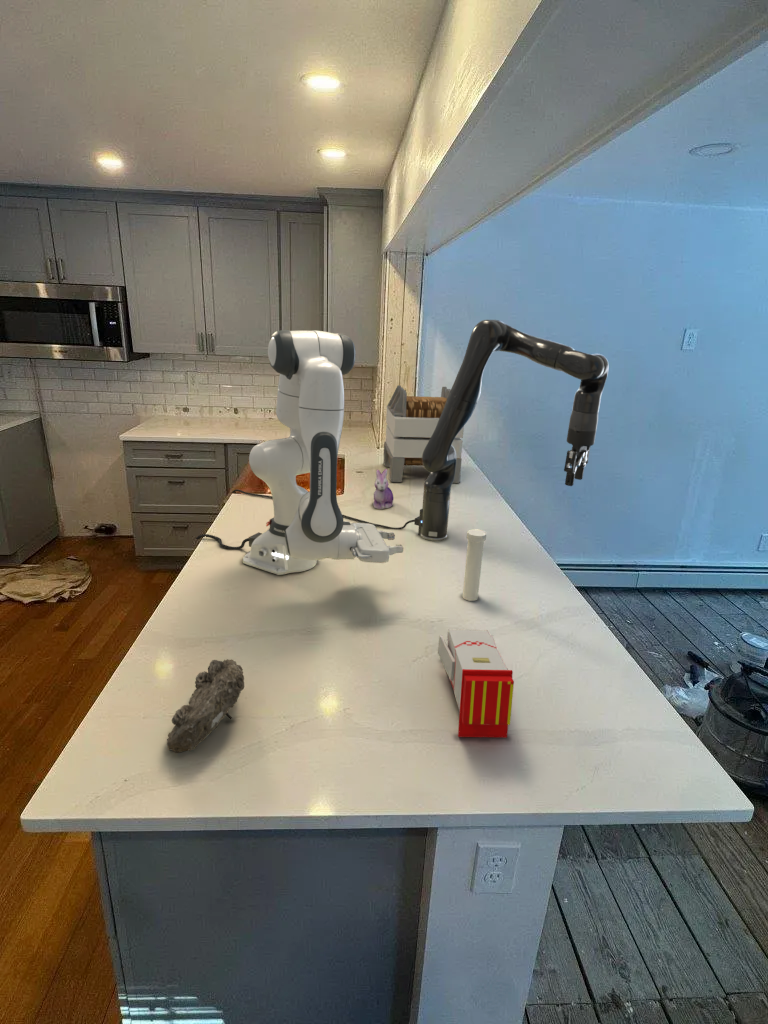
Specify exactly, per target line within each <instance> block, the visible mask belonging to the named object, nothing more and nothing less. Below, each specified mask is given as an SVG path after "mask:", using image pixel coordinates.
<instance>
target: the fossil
mask: <svg viewBox="0 0 768 1024" xmlns="http://www.w3.org/2000/svg"><path fill="white" fill-rule="evenodd" d="M243 670H244V669H243V667H242V665H240V664H237V662H236V661H235V660H234V659H232V658H231V659H227V658H226V659H224V660H223V661H222V660H217V659H212V660H211V661H210V663H209V665H208V666H207V671H201V672H199V673H198V674H197V675H196V676H195V680H194V684H195V685H194V687H195V689H194V690H193V693H192V694H191V697H190V698H189V700H188V704H184V705H182V706H181V707H180V709H177V710H176V711H175V713H174V715H173V716H172V718H171V723H172V724H173V727H172V730H171V731H170V732H168V734H167V738H166V741H167V742H166V745H167V749H168V750H169V751H173V752H174V753H176V754H178V753H182V752H188V751H189V752H192V751H193V750H195V748H196V747H197V746H199V744H200V743H201V742H203V741H204V740H205V739H206V738H207V737H208V736H209V735H210V734H211V733H212V732H214V730H215V729H217V727H218V726H219V724H220V722H221V721H222V720H223V719H224V718H225V716H226V717H227V719H229V720H233V717H232V715H230V714H229V710H230V709H231V708H234V706H235V704H236V703H237V702H238V699H239V697H240V695H241V693H242V691H243V690H245V689H244V688H245V675H244V671H243Z"/></svg>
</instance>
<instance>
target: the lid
mask: <svg viewBox="0 0 768 1024" xmlns="http://www.w3.org/2000/svg"><path fill="white" fill-rule="evenodd" d="M466 539H467V541H468V540H469V541H472V542H484V543H485V541H486V540H487V531H485V530H483V529H478V528H472V529H468V530H467V532H466Z"/></svg>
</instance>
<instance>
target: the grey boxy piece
mask: <svg viewBox="0 0 768 1024" xmlns="http://www.w3.org/2000/svg"><path fill="white" fill-rule="evenodd" d="M450 391H451V388H447V386H442V387H441V392H440V393H441V394H440V396H415V395H414V396H413V395H412V396H411V395H407V394H408V393H407V390H406V389H404V388H403V387H402V385H399V384H398V385H397V386H396V388H395V390H394V392H393V394H392V395H391V398H390V400H389V402H388V404H387V405H386V413H385V414H386V415H385V423H386V428H385V438H384V442H383V466H384V467H388V468H389V475H388V476H389V477H388V478H389V480H390V482H391V483H402V482H403V475H404V469H405V466H406V467H407V466H411V467H412V466H413V467H415V466H416V467H417V466H418V467H424V466H423V464H422V454H423V451H424V449H425V447H426V445H427V444H428V442H429V440H430V438H431V436H432V434H433V432H434V430H435V428H436V426H437V423H438V421H439V418H440V416H441V413H442V411H443V408H444V406H445V403H446V400H447V398H448V395H449V393H450ZM464 429H465V425H464V426H463V428H462V429H461V430H460V431H459V433H458V434H457V435H456V437H455V438H454V440H453V442H452V444H451V445H452V446H453V447H454V449H455V451H456V468H455V476H454V481H453V483H452V484H455V483H456V484H459V483H461V472H462V461H463V460H462V453H463V442H464V441H463V440H462V439H463V438H464V431H465V430H464Z"/></svg>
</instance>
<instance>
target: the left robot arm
mask: <svg viewBox="0 0 768 1024" xmlns="http://www.w3.org/2000/svg"><path fill="white" fill-rule="evenodd" d="M356 355H357V354H356V346H355V343H354V341H353V339H352V338H351V337H350V336H348V335H346V334H343V333H340V332H336V333H333V332H329V331H325V330H323V331H322V330H315V329H312V330H289V329H282V330H277V331H274V333H272V334H271V336H270V338H269V342H268V345H267V357H268V361H269V362H268V363H269V364H270V367H271V368H272V369H274V371H275V372H276V373H278V374H279V376H278V383H277V393H276V394H277V395H276V406H275V414H276V418H277V420H278V421H279V422H280V423H281V424H282V425H284V427H285V426H286V427H287V428H289V430H290V431H289V432H290V433H289V437H283V438H275V439H268V440H266V441H263V442H260V443H257V444H256V445H254V446H253V447H252V448H251V450H250V452H249V455H248V464H249V467H250V470H251V471H252V473H253V475H254V476H256V477H257V478H259V479H260V480H262V481H263V482H264V483H265V484H266V486H267V487H268V489H269V491H270V493H271V496H272V497H273V498H272V504H273V517H271V518H270V519H269V521H267V522H266V523H265V524H266V525H265V526H266V527H269V528H268V529H267V530H265V531H263V532H256V533H255V534H252V535H250V536H248V538H245V539H243V540H242V542H241V545H238V546H230V545H227V544H224V543H223V539H222V538H220V537H219V536H216V535H213V534H207V533H202V534H200V535H198V536H196V537H195V540H200V539H201V538H209V539H213V540H216V541H218V545H219V546H220V547H221V548H223V549H227V550H231V551H232V550H241V549H243V548H244V547H245V544H246V543H247V542H248V547H250V550H249V551H248V552H247V553H246V554H244V556H243V558H242V564H245V565H247V566H249V567H254V568H256V569H259V570H262V571H264V572H268V573H271V574H274V575H277V576H282V575H287V574H292V573H300V572H306V571H309V570H311V569H313V568H314V567H315V566H316V565H317V563H318V561H322V560H325V559H326V560H327V559H331V560H335V561H341V560H343V561H344V560H355V559H356V558H358V560H359V561H360V562H363V563H373V564H386V563H388V562H389V561H390V556H393V555H396V554H402V553H404V546H403V545H402V544H395V545H392V546H391V545H388V544H387V543H386V542H385V540H387V541H394V540H395V537H396V534H395V533H394V532H393V531H385V530H381V529H380V530H379V529H378V528H377V526H375V525H373V524H368V523H363V522H351V521H348V520H344V517H343V516H342V515H343V513H342V511H341V509H340V507H339V504H338V500H337V485H338V484H337V483H338V481H337V480H338V479H337V478H338V477H337V476H338V455H339V449H340V444H341V443H340V442H341V438H342V431H343V427H344V426H343V425H344V418H345V387H344V378H343V376H345V375H348V374H349V373H350V372H351V371H352V369H354V366H355V362H356ZM304 474H305V475H306V474H309V491H308V490H307V489H306V488H304V487H302V486H300V485H298V483H297V476H299V475H304ZM205 536H206V537H205Z"/></svg>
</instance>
